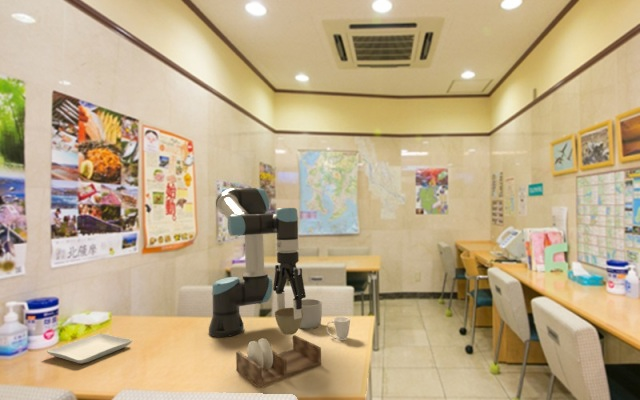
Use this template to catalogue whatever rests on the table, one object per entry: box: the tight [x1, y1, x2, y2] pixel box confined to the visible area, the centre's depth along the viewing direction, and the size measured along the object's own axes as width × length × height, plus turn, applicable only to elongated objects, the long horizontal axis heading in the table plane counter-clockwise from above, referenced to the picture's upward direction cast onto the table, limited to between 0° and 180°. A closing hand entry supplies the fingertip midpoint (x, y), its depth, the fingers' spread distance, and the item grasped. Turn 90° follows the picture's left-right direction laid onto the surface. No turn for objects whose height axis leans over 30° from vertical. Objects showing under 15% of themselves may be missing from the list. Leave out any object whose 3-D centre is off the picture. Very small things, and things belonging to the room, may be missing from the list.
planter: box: [299, 298, 323, 330], centre depth 164 cm, size 12×12×11 cm
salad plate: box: [46, 333, 133, 365], centre depth 139 cm, size 21×21×3 cm
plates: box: [246, 337, 273, 370], centre depth 117 cm, size 10×4×10 cm, turn 38°
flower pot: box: [274, 307, 303, 336], centre depth 124 cm, size 10×10×7 cm
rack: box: [235, 334, 322, 388], centre depth 121 cm, size 16×24×6 cm, turn 128°
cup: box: [326, 316, 351, 342], centre depth 147 cm, size 7×10×8 cm
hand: (289, 314), depth 124 cm, fingers closed on flower pot, 10 cm apart
